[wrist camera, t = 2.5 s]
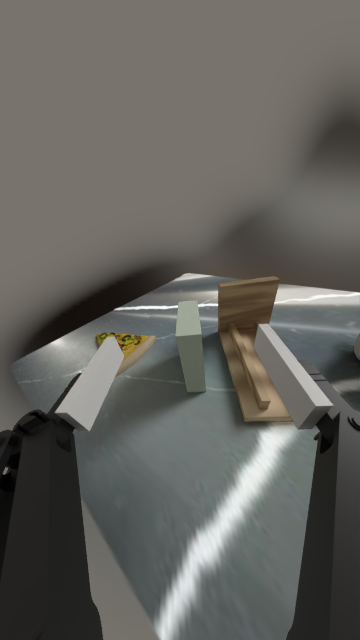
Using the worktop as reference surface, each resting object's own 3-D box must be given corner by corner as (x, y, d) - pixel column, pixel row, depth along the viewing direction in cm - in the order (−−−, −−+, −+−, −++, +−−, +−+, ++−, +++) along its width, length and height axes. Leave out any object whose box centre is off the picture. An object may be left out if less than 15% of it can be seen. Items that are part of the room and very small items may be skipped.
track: (330, 420, 21) (398, 352, 13) (244, 421, 22) (259, 361, 14) (263, 327, 39) (274, 276, 31) (218, 331, 40) (218, 283, 32)
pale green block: (206, 391, 27) (201, 334, 19) (187, 392, 27) (175, 336, 19) (201, 351, 35) (196, 300, 27) (187, 352, 35) (178, 302, 28)
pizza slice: (114, 385, 31) (109, 377, 30) (75, 352, 43) (69, 345, 41) (160, 341, 41) (158, 333, 40) (118, 324, 52) (115, 317, 51)
